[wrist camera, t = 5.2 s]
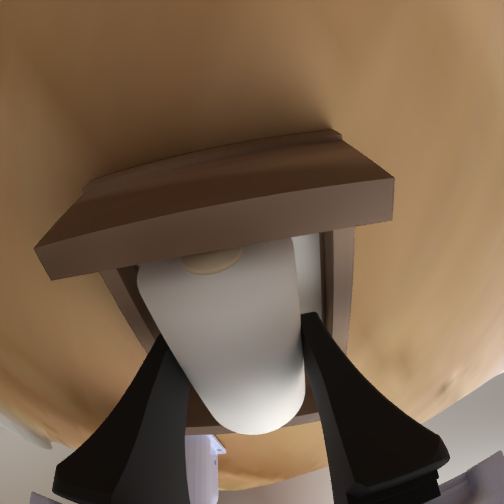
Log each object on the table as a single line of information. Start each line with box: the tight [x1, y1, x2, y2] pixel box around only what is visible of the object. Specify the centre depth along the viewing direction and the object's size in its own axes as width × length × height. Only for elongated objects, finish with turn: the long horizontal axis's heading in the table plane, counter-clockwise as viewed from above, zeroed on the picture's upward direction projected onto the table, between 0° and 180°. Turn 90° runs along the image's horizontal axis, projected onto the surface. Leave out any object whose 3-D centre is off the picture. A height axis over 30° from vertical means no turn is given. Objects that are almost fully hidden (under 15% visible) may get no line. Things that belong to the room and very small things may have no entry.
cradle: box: [34, 130, 395, 435], centre depth 12 cm, size 13×10×5 cm
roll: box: [137, 238, 305, 435], centre depth 11 cm, size 8×5×5 cm, turn 9°
